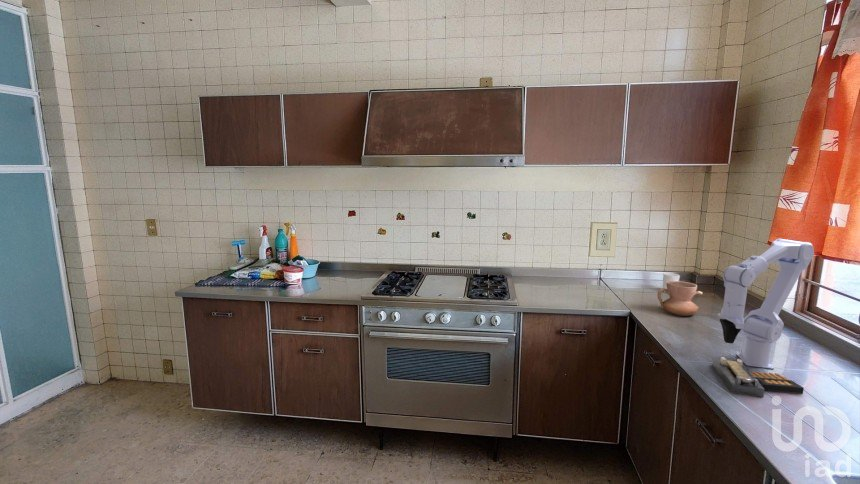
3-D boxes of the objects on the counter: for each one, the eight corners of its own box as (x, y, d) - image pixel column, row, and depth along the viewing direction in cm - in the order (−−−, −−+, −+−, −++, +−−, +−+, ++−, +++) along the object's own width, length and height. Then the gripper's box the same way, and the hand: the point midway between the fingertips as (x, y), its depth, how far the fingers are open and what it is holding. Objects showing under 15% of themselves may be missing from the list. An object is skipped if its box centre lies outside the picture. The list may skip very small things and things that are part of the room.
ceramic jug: (696, 310, 201) (699, 281, 199) (703, 320, 188) (706, 289, 186) (654, 306, 208) (656, 278, 206) (657, 315, 195) (660, 285, 192)
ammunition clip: (803, 393, 126) (777, 376, 138) (804, 387, 126) (778, 370, 138) (763, 389, 128) (741, 373, 140) (763, 384, 128) (742, 367, 140)
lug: (720, 362, 141) (720, 356, 141) (739, 365, 139) (740, 359, 139) (721, 364, 139) (722, 359, 139) (742, 367, 137) (742, 361, 137)
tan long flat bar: (725, 362, 140) (725, 359, 140) (735, 364, 139) (736, 360, 139) (741, 382, 126) (742, 379, 126) (753, 384, 125) (754, 380, 125)
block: (712, 364, 145) (713, 353, 144) (739, 368, 142) (741, 356, 141) (731, 392, 127) (733, 378, 126) (763, 397, 124) (765, 383, 124)
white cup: (658, 290, 235) (660, 273, 233) (669, 289, 237) (671, 272, 236) (669, 294, 228) (672, 276, 226) (681, 293, 230) (683, 275, 228)
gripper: (713, 295, 146) (707, 332, 149) (728, 308, 133) (722, 349, 135) (736, 297, 144) (731, 335, 146) (754, 310, 131) (748, 352, 133)
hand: (728, 342), depth 141 cm, fingers closed
